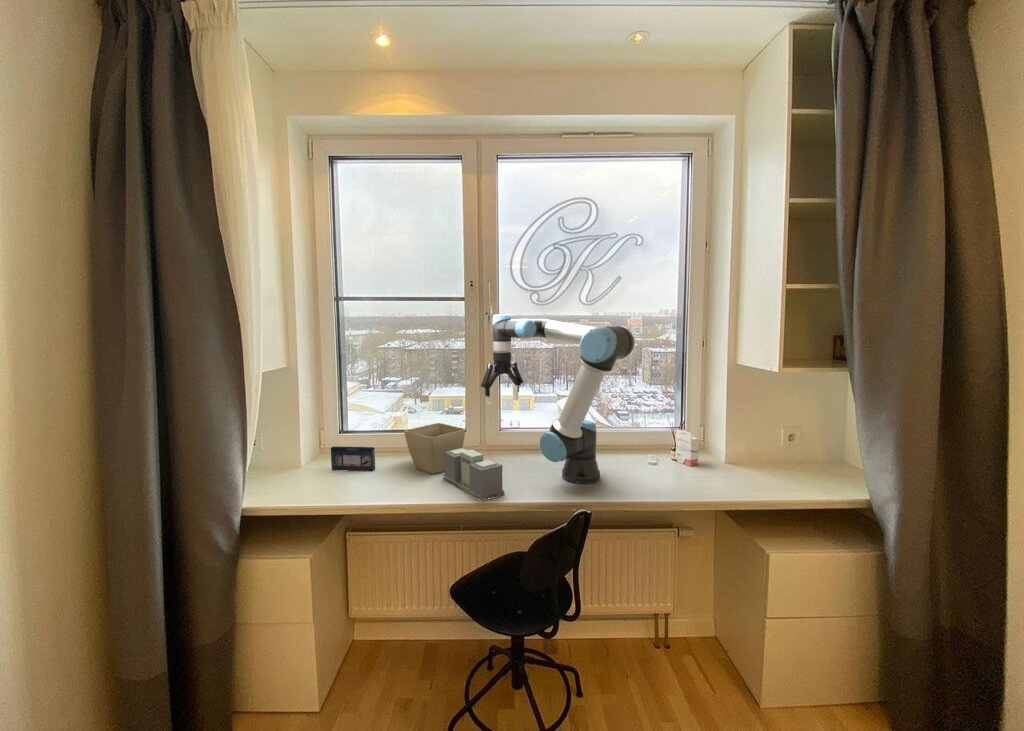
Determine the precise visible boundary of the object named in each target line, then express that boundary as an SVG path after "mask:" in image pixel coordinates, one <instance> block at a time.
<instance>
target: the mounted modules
mask: <svg viewBox="0 0 1024 731" xmlns="http://www.w3.org/2000/svg"><path fill="white" fill-rule="evenodd" d="M468 450H469V449H467V448H463V447H462V448H461V449H456V450H451V451H448V452H444V462H445V471H444V475H445V476H447V477H449V478H451V479H452V480H454V481H457V482H458V481H461V452H463V451H468ZM469 473H470V490H472V491H473V492H475V493H477V494H479V495H480V496H484V497H487V496H490V495H494V494H497V493H501V491H502V490H504V489H503V486H504V485H503V483H504V482H503V465H502V464H501V463H498V462H496V461H494V460H492V459H487V460H483V461H482V462H478V463H474V464H469Z"/></svg>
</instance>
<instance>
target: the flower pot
mask: <svg viewBox="0 0 1024 731" xmlns="http://www.w3.org/2000/svg"><path fill="white" fill-rule="evenodd" d="M403 432H404V437H405V441H406V444H407V449H408V452H409V454H410V457H411V459H412V461H413V464H414V466H415V468H416V469H418V470H421V471H424V472H426V473H428V474H432V475H435V474H440V473H442V472H445V462H444V452H448V451H451V450H456V449H461V448H463V447H464V442H465V436H466V428H464V427H459V426H454V425H450V424H445V423H441V422H436V423H432V424H426V425H422V426H417V427H414V428H409V429H404V431H403Z"/></svg>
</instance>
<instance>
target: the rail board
mask: <svg viewBox="0 0 1024 731" xmlns="http://www.w3.org/2000/svg"><path fill="white" fill-rule="evenodd" d="M442 476H443V477H442V479H443V480H444V481H446V482H447V483H449V484H451V485H453V486H454V487H456V488H458V489H460V490H461V491H463V492H464V493H466V494H468V495H469V494H470V496H471V495H472V496H471V497H473V496H474V498H475V497H476V498H478V499H480V500H484V499H488V498H492V497H495V498H497V497H496V496H498V497H501V496H500V495H502V496H504V494H505V492H506V491H505V489H503V490H502V491H501V493H497V494H494V495H490V496H487V497H484V496H480V495H479V494H477V493H475V492H473V491H472V490H470V487H469V486H467V485H465V484H463V483H462V482H461V481H458V482H457V481H454V480H452V479H451V478H449V477H447V476H445V474H443V475H442ZM476 498H475V499H476ZM478 499H477V500H478ZM492 499H493V498H492ZM480 500H479V501H480ZM488 500H489V499H488Z"/></svg>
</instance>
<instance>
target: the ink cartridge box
mask: <svg viewBox="0 0 1024 731" xmlns="http://www.w3.org/2000/svg"><path fill="white" fill-rule="evenodd" d="M692 435H693V434H692V432H690V431H686V430H683V429H678V428H677V429H676V436H675V459H676V458H677V461H678V462H677V463H679V462H680V463H679V464H682V465H685V466H687V467H694V466H698V464H699V438H698V437H695V436H692Z"/></svg>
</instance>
